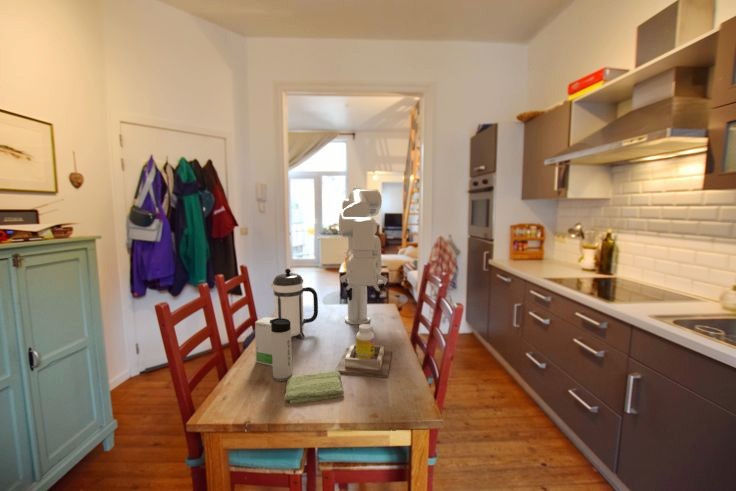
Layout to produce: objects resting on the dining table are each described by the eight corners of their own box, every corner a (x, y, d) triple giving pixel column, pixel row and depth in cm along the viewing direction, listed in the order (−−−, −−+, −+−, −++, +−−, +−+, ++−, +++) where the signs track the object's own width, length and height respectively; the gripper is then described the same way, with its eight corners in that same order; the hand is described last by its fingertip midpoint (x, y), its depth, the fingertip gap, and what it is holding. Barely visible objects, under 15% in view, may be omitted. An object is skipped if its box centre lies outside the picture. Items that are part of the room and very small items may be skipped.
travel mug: (270, 374, 111) (268, 317, 108) (290, 370, 113) (288, 315, 111) (273, 383, 105) (270, 324, 103) (293, 379, 108) (292, 321, 105)
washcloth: (286, 382, 107) (286, 373, 106) (340, 377, 110) (340, 368, 109) (284, 406, 94) (283, 396, 93) (344, 400, 97) (344, 390, 97)
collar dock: (346, 349, 129) (346, 340, 129) (391, 353, 126) (392, 343, 126) (335, 373, 111) (334, 362, 111) (387, 377, 109) (387, 366, 108)
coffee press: (292, 346, 133) (290, 274, 129) (264, 338, 141) (262, 270, 137) (319, 331, 148) (318, 266, 144) (292, 325, 156) (290, 263, 152)
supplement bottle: (372, 365, 115) (372, 330, 113) (354, 363, 116) (354, 328, 115) (375, 356, 121) (375, 323, 120) (358, 354, 123) (358, 322, 121)
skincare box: (255, 362, 119) (253, 321, 117) (266, 354, 125) (265, 315, 123) (274, 366, 116) (272, 324, 114) (285, 358, 122) (283, 318, 120)
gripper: (388, 252, 118) (388, 298, 121) (342, 251, 121) (342, 296, 123) (386, 256, 111) (386, 304, 113) (337, 255, 113) (337, 302, 116)
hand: (363, 300), depth 118 cm, fingers open, 9 cm apart
